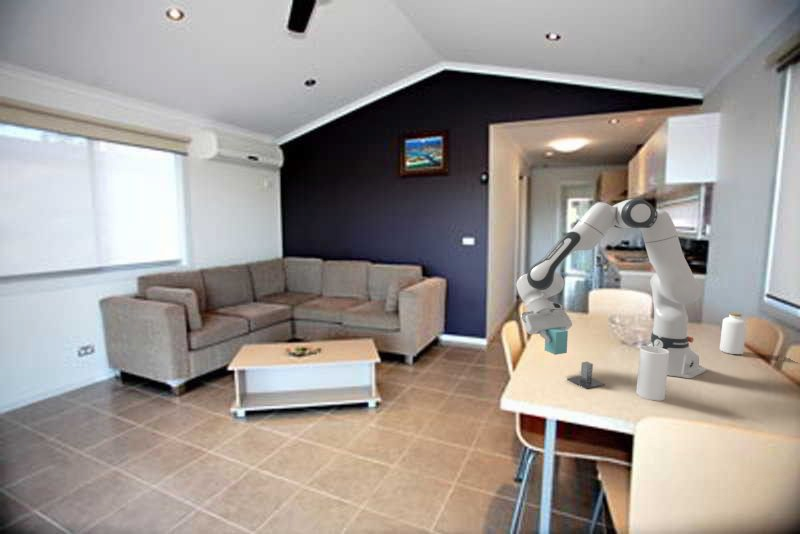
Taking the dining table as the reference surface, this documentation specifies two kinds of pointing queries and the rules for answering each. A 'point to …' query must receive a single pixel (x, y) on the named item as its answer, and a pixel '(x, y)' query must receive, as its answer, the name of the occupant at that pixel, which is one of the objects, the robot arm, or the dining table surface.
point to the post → (586, 377)
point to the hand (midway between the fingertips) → (557, 340)
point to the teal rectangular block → (557, 341)
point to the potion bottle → (733, 334)
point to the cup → (652, 372)
